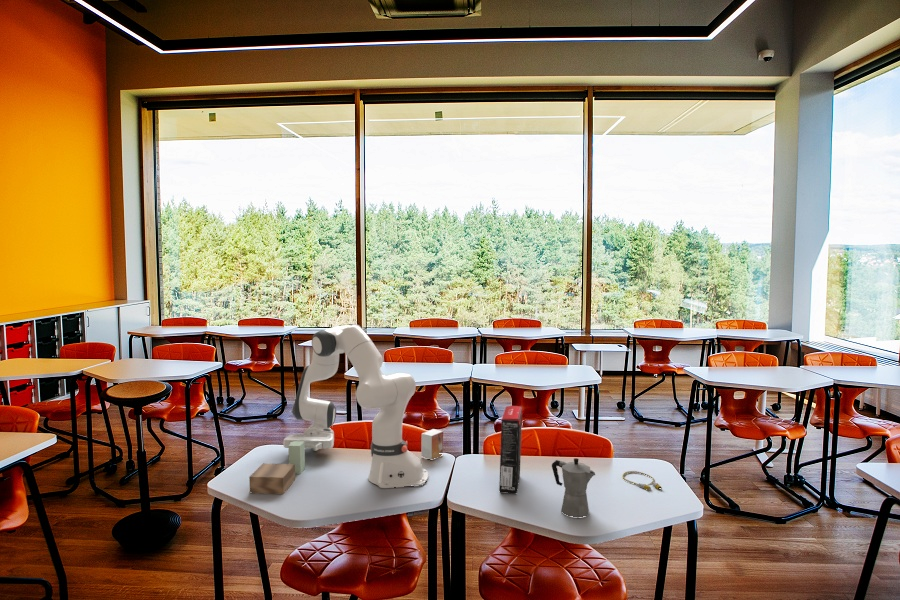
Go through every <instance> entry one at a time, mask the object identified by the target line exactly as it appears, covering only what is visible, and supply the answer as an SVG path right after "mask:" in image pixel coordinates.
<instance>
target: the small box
mask: <svg viewBox="0 0 900 600" xmlns="http://www.w3.org/2000/svg"><path fill="white" fill-rule="evenodd" d="M420 440H421V445H420V447H421V453H420V455H421V456H423V457H425V458H429V459H434V458H436V459H438V458H437V457H439V458H441V457H442V456H441V455H442V454H439V453H443V454H444V431H443V430H440V429H435V428H432V429H429V430H427V431H425V432H422V433H421V439H420ZM421 456H420V457H421ZM440 456H441V457H440ZM434 460H435V459H434Z"/></svg>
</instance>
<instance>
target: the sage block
mask: <svg viewBox="0 0 900 600" xmlns="http://www.w3.org/2000/svg"><path fill="white" fill-rule="evenodd" d="M305 450H306V448H304V441H293V442H292V443H291V444H290V445H289V448H288V464H295V475H301V474H302V473H303V472H304V471H305V468H306V462H305V460H306V455H305V453H306V452H305Z"/></svg>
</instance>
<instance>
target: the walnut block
mask: <svg viewBox="0 0 900 600" xmlns="http://www.w3.org/2000/svg"><path fill="white" fill-rule="evenodd" d="M248 478H249V480H248V481H249V493H250V492H252V493H251V494H259V493H264V495H265V494H267V495H284V494H285V493H286V492H287V491H288V489H289V488H290V487H291V486H292V484H293V483H294V482H295V481H296V474H295V464H289V463H264V462H263V463H262V464H261V465H260V466H259V467H258V468H257V469H255V471H254V472H253V473H251V474H250V475H249V477H248Z"/></svg>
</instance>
